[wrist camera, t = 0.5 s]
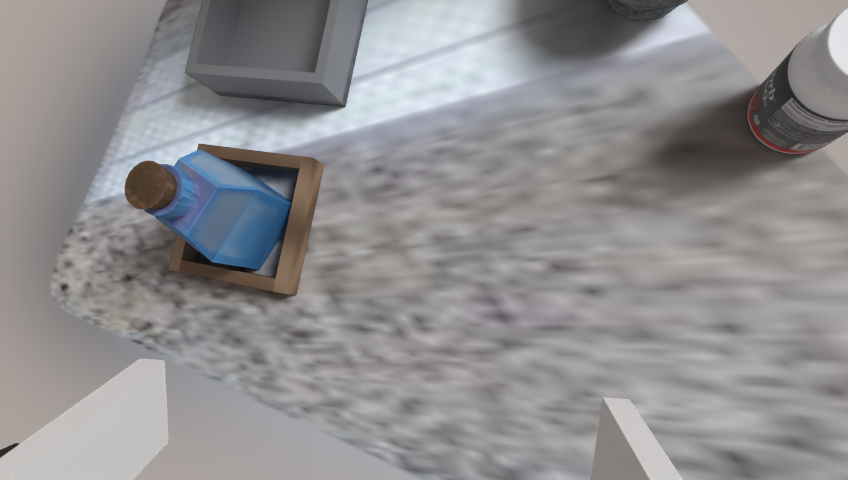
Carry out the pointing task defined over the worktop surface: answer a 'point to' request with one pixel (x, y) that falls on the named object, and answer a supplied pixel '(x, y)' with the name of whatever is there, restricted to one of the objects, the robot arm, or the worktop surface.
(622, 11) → the mortar and pestle
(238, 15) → the bin
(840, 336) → the worktop surface
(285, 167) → the holder
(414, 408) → the worktop surface
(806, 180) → the worktop surface
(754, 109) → the pill bottle
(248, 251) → the perfume bottle
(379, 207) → the worktop surface
